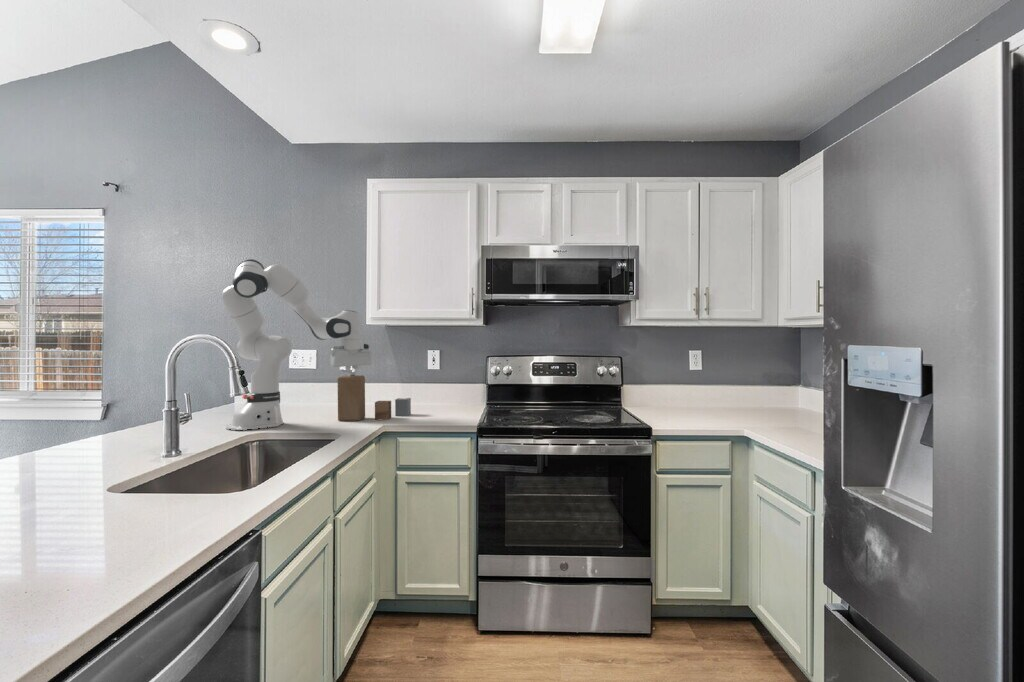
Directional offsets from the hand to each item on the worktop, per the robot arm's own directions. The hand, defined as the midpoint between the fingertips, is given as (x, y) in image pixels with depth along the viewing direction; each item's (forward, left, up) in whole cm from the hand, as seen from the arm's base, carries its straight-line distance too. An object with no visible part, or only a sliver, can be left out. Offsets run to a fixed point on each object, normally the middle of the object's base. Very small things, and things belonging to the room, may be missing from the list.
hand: (351, 375), depth 238 cm
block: (0, 0, -20) cm, 20 cm away
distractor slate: (+22, -10, -20) cm, 31 cm away
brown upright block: (+10, -10, -20) cm, 25 cm away
